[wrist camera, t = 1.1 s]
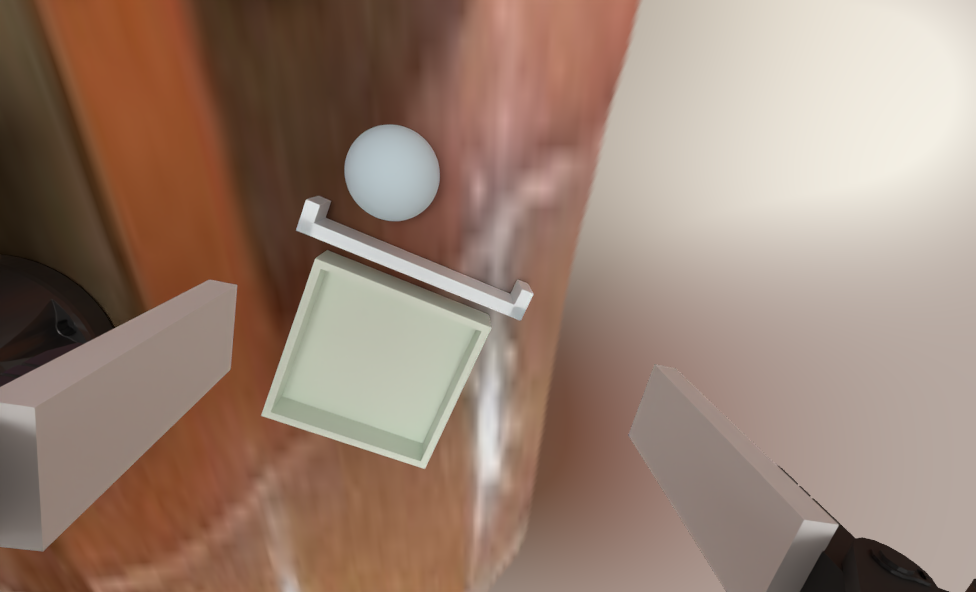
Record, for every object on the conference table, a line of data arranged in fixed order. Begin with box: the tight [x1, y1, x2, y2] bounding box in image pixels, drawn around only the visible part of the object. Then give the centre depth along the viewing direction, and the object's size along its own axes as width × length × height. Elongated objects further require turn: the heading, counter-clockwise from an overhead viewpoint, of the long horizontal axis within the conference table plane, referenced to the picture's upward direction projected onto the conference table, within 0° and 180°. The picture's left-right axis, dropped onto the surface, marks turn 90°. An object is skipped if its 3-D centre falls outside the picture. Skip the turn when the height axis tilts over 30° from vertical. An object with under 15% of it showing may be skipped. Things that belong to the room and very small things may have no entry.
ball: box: [345, 124, 440, 221], centre depth 31 cm, size 6×6×6 cm
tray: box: [261, 250, 492, 469], centre depth 37 cm, size 14×14×3 cm
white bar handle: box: [296, 196, 533, 321], centre depth 35 cm, size 18×2×3 cm, turn 66°
